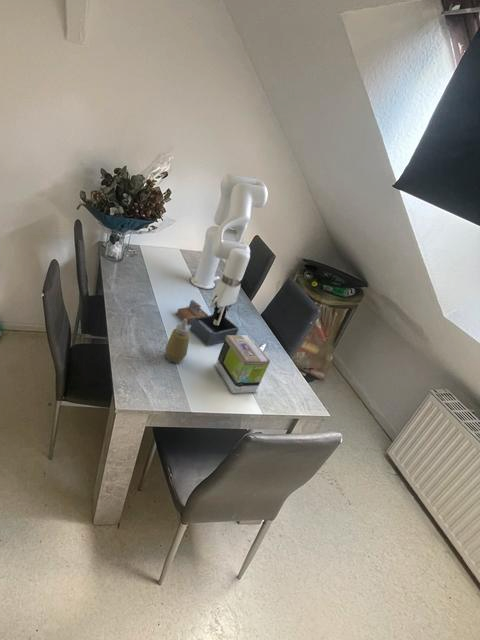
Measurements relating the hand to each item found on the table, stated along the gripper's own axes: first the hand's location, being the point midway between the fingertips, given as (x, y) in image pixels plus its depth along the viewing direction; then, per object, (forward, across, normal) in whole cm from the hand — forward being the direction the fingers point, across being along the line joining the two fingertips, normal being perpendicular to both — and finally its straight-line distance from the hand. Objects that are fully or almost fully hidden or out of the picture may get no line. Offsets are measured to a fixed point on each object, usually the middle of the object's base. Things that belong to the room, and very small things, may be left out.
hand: (218, 318), depth 159 cm
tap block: (+9, +1, -14) cm, 16 cm away
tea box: (+9, +10, +25) cm, 28 cm away
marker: (+3, 0, 0) cm, 3 cm away
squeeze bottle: (+9, +26, +8) cm, 28 cm away
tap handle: (+6, +1, -14) cm, 15 cm away
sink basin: (+9, 0, 0) cm, 9 cm away
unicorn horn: (+9, -7, +18) cm, 21 cm away
